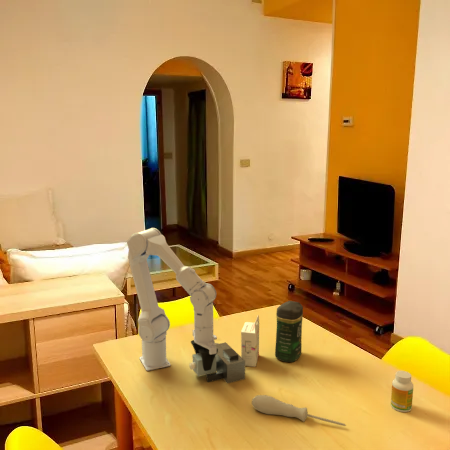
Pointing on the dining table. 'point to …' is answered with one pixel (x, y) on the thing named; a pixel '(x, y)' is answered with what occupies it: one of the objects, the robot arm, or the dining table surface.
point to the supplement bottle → (402, 392)
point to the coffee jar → (289, 331)
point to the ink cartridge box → (250, 342)
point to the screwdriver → (283, 409)
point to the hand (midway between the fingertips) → (204, 366)
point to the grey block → (201, 365)
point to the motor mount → (227, 365)
